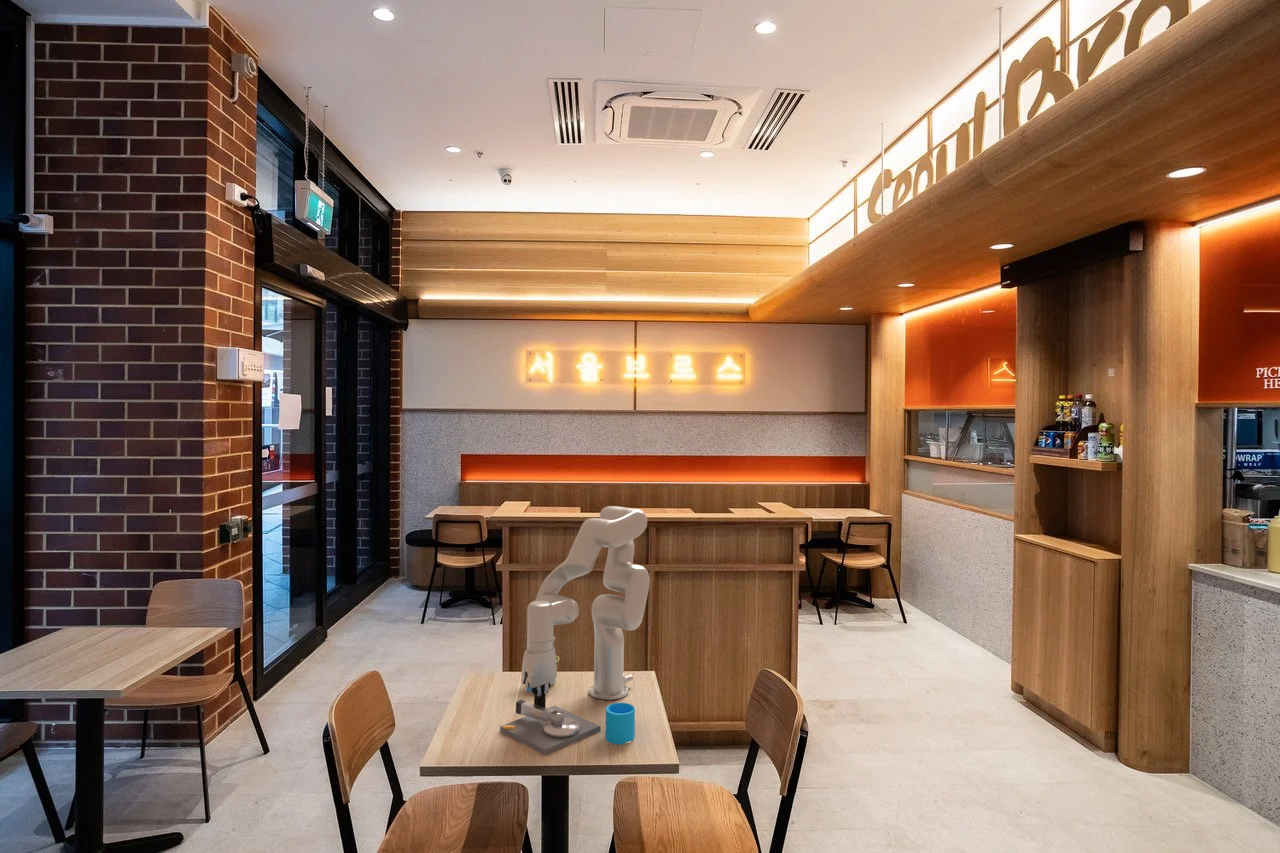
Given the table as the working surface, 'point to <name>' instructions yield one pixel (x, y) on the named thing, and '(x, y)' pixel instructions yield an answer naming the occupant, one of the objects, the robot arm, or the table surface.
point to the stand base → (534, 736)
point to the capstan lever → (549, 719)
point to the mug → (620, 723)
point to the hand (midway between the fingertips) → (539, 707)
